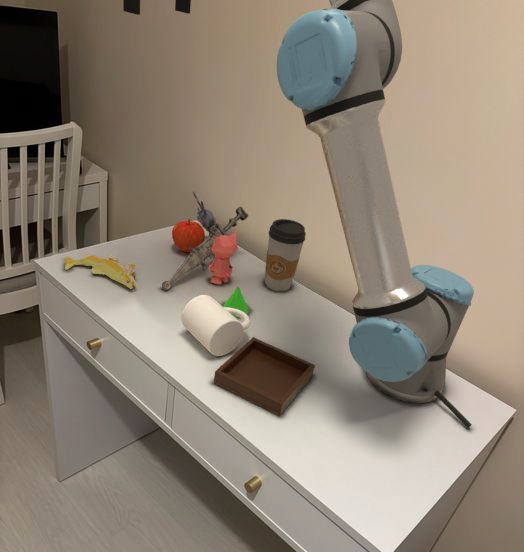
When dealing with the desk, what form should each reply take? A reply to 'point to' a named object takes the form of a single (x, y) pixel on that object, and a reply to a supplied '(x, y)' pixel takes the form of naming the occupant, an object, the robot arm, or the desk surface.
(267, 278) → the coffee cup
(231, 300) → the green pyramid
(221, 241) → the cat figurine
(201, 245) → the decorative dagger
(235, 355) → the serving tray
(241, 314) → the mug
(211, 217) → the toy
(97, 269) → the toy
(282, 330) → the desk surface
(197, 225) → the apple
